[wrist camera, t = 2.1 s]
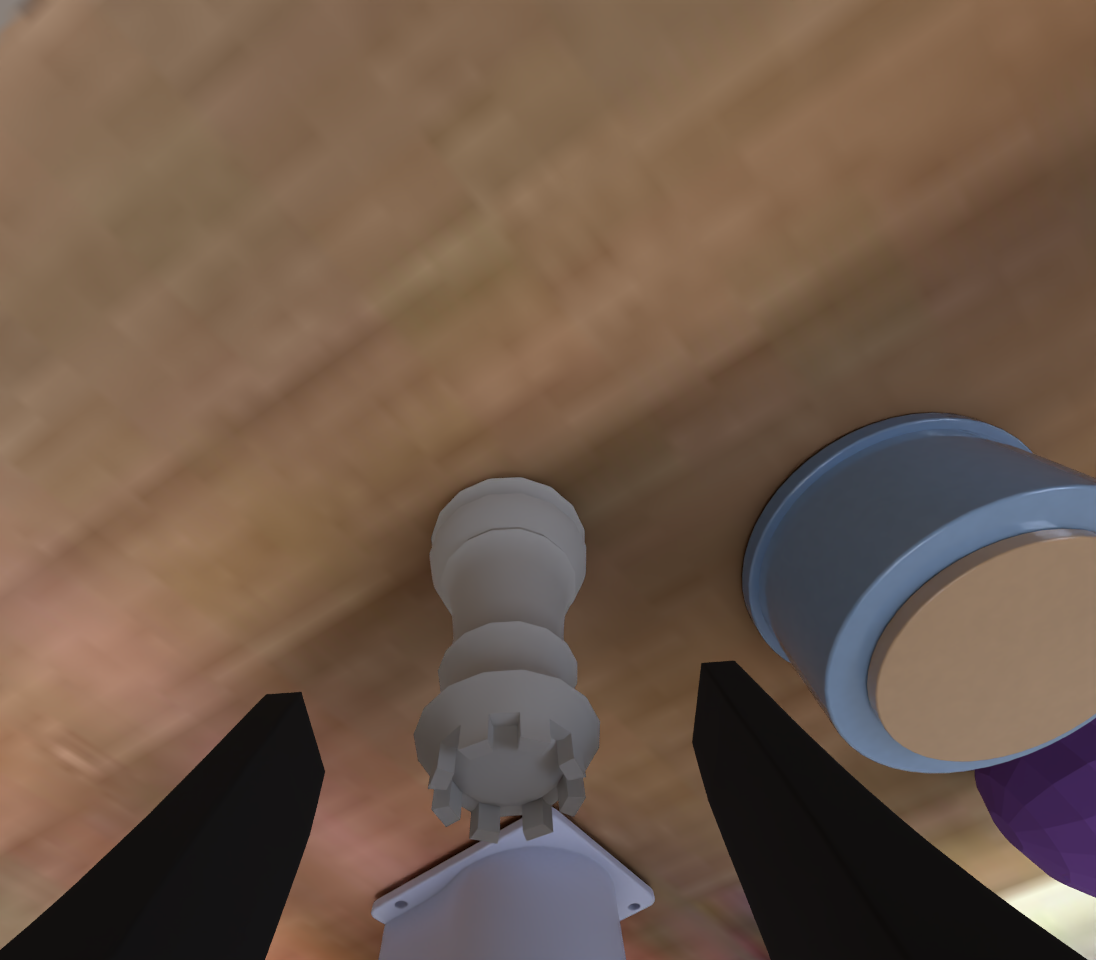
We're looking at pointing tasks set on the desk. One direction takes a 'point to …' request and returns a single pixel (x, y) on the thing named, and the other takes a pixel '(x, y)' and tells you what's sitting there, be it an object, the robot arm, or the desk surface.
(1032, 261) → the desk surface
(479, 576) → the rook chess piece
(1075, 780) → the kendama
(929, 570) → the short blue cylinder
